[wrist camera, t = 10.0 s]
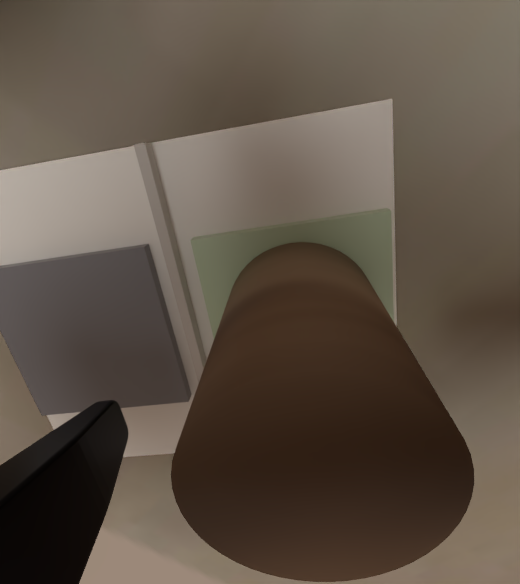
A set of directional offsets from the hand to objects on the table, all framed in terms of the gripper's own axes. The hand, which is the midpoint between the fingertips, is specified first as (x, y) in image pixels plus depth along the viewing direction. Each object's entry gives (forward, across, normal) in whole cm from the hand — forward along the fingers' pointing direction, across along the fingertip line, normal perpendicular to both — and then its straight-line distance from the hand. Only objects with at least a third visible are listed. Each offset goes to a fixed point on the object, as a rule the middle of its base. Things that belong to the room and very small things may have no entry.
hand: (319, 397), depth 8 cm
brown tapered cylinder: (+4, 0, 0) cm, 4 cm away
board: (+5, +4, 0) cm, 6 cm away
